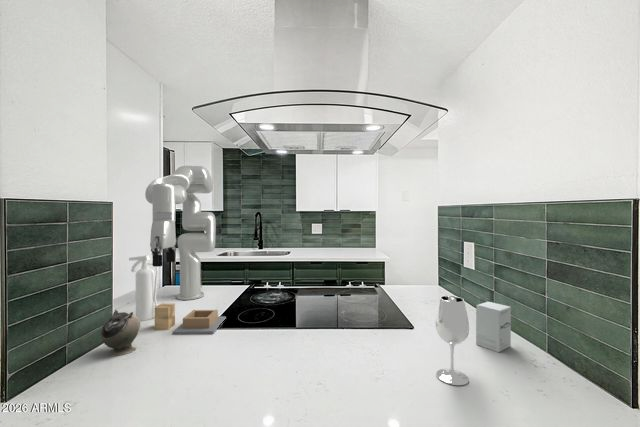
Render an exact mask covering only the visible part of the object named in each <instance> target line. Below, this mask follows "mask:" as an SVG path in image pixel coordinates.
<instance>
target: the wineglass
mask: <svg viewBox="0 0 640 427" xmlns="http://www.w3.org/2000/svg"><path fill="white" fill-rule="evenodd" d="M468 317H469V316H468V311H467V307H466V302H465V300H464V298H462V297H459V296H455V295H454V296H453V295H442V296H440V299H439V302H438V306H437V311H436V317H435V330H436V333H437V335H438V336H439V338H441V340H443V341H444V342H445V343H446V344H449V349H450V367H449V368H441V369H438V370H437V371H436V373H435V375H436V377H437V378H438V380H440V381H441V382H442V383H446V384H448V385H452V386H464V385H467V384H468V383H469V377H468V376H467V375H466V374H465V373H463V372H461V371H459V370H457V369H455V368H454V362H455V359H454V357H455V356H454V354H455V352H454V350H455V346H456V345H460V344H463V342H465V341H466V339H467V338H468V336H469V333H470V324H469V323H470V322H469V318H468Z"/></svg>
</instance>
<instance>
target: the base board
mask: <svg viewBox="0 0 640 427" xmlns="http://www.w3.org/2000/svg"><path fill="white" fill-rule="evenodd" d="M225 319H226V320H227V316H225V315H224V316H223V315H221V316H219V309H193V310H191V311H190V312H189V313H188V314H187V315H184V317H183V318H182V323H181V324H180V325H179V326H177V327H176V328H175V329H174V330H172V335H214V334H215V333H216V332H217V330H218V329H219V328H220V327H219V325H220V324H221V323H222V322H223V321H224V320H225ZM226 320H225V321H226ZM225 321H224V322H225ZM224 322H223V323H224ZM223 323H222V324H223ZM222 324H221V325H222ZM218 327H219V328H218ZM217 328H218V329H217Z"/></svg>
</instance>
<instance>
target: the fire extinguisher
mask: <svg viewBox="0 0 640 427" xmlns="http://www.w3.org/2000/svg"><path fill="white" fill-rule="evenodd" d="M150 260H151V259H150V255H149V254H148V255H140V256H139V255H138V256H131V257H128V261H136V262H134V264H133V265H132V266H131V270H130V271H131V272H132V273H135V315H136V316H137V317H138V319H139V321H140V322H141V321H149V320H152V319H154V308H155V307H156V306H158V305H160V304H158V301H157V291H158V288H157V287H158V286H157V285H158V277H159V266H157V267H155V271H154V269H152V268H150V266H153V261H151V262H150ZM140 264H141V267H140V268H141V269H138V266H140ZM137 269H138V270H137Z"/></svg>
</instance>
